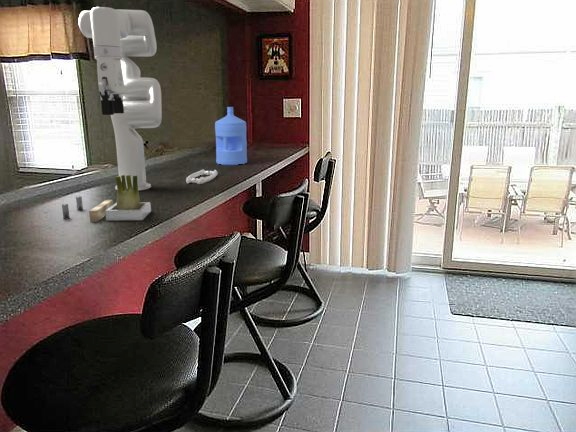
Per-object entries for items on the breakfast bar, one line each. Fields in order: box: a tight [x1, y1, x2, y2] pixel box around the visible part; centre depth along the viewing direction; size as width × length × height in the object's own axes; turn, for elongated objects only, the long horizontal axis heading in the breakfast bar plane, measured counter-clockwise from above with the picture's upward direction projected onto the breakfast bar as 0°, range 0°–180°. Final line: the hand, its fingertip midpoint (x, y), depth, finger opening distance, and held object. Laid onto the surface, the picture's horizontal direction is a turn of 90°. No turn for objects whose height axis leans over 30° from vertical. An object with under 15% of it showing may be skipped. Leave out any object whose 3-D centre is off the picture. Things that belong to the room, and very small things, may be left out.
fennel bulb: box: [115, 175, 141, 210], centre depth 133 cm, size 6×5×12 cm
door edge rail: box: [88, 199, 114, 223], centre depth 135 cm, size 14×2×3 cm, turn 3°
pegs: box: [61, 195, 84, 220], centre depth 136 cm, size 12×2×4 cm, turn 3°
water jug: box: [214, 106, 248, 166], centre depth 233 cm, size 16×16×28 cm
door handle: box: [185, 169, 218, 185], centre depth 193 cm, size 3×10×25 cm
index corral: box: [105, 201, 152, 222], centre depth 134 cm, size 10×10×3 cm
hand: (113, 114), depth 140 cm, fingers open, 9 cm apart
